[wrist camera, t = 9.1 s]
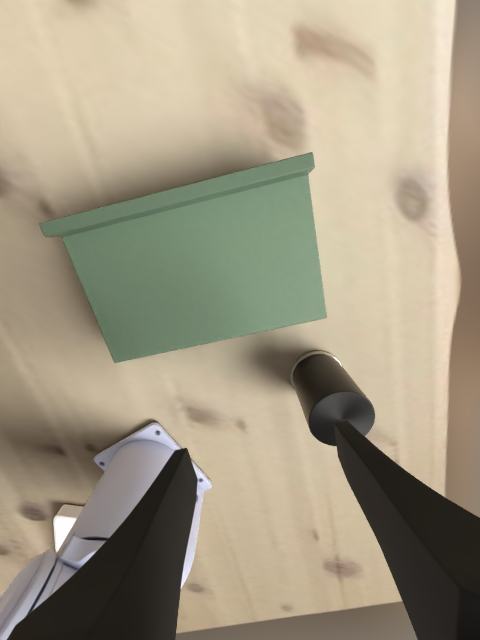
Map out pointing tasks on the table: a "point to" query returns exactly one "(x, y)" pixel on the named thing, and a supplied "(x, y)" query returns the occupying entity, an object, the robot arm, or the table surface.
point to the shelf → (200, 260)
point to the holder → (329, 396)
